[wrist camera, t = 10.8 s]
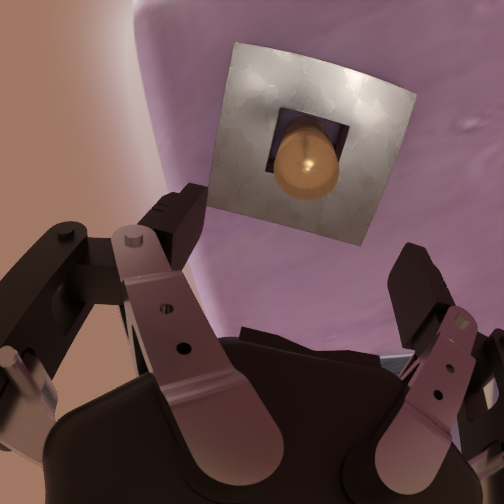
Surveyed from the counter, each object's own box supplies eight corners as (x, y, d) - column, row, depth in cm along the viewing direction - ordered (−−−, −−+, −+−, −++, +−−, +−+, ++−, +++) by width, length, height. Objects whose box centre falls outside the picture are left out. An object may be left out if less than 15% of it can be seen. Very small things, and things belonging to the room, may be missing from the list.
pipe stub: (288, 111, 25) (282, 130, 17) (334, 124, 25) (347, 149, 17) (278, 153, 27) (267, 191, 20) (321, 165, 27) (328, 207, 20)
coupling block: (243, 45, 22) (234, 42, 19) (403, 91, 22) (417, 94, 19) (215, 190, 30) (205, 205, 27) (355, 227, 30) (360, 246, 27)
